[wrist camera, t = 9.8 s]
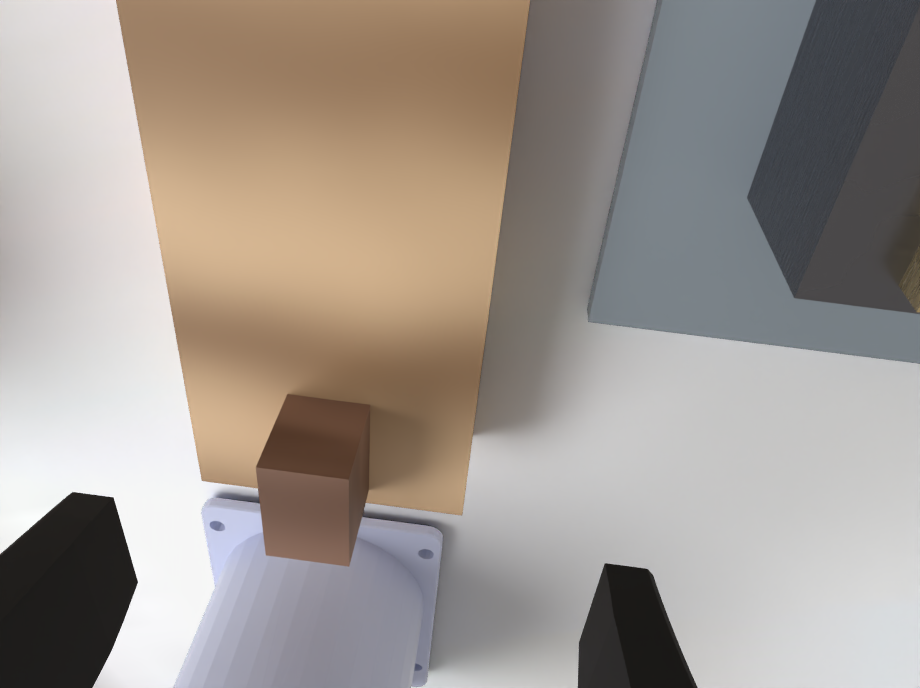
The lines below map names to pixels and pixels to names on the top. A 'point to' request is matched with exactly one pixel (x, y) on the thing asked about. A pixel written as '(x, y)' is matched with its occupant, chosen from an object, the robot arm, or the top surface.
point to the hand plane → (328, 240)
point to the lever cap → (848, 159)
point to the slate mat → (717, 192)
